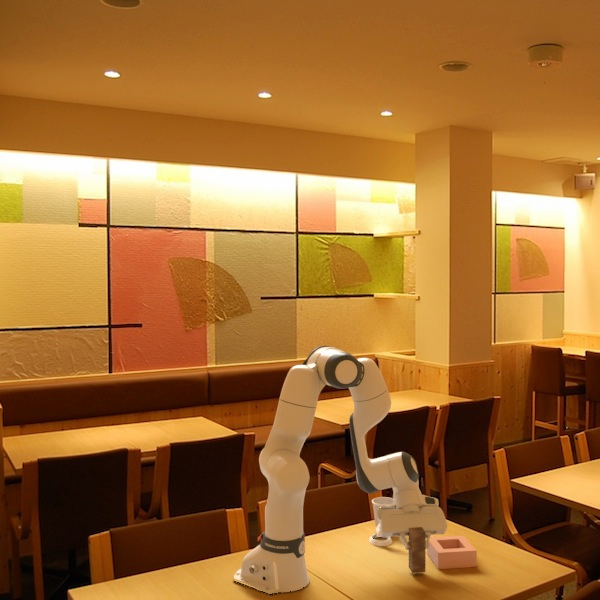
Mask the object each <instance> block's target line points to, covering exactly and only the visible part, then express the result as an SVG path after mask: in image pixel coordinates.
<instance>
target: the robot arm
mask: <svg viewBox="0 0 600 600" xmlns="http://www.w3.org/2000/svg"><path fill="white" fill-rule="evenodd" d="M326 385H327V386H329V387H333V388H336V389H348V390H349V392H350V395H351V399H352V401H353V406H354V407H353V412H352V413H351V414H350V416H349V422H348V426H349V433H350V439H351V447H352V451H353V457H354V463H355V469H356V470H355V475H356V476H355V478H356V482H357V485H358V487H359V489H360V490H362V491H363V492H365V493H367V494H370V495H372V494H375V493H378V492H380V491H382V490H387V489H391V488H392V491H393V495H392V499H394V504H395V505H392V506H381V507H380V508H378V510H377V516H378V518H379V519H380V533H381V535H382V536H383V537H390V538H391V537H399V540H400V541H401V542H402V543H403V545H404V548H405V550H406V551H407V550H408V551H409V550H411V542H409V540H407V538H406V537H409V528H414V527H422V528H423V529H424V531H425V532H426V550H427V549H429V542H428V541H429V539H430V537H431V535H432V536H433V535H444V534H445V533H446V532H447V529H448V524H447V523H448V522H447V519H446V515H445V513H444V511H443V510H442V508H441V507H440V506H439V504H440V503H439V499H438V498H436V497H433V496H432V497H431V496H429V495H428V496H427V495H425V494H422V492H421V490H420V487H419V485H420V484H419V483H420V482H419V477H420V473H419V470H418V464H417V462H416V460H415V458H414V457H413V456H412V455H410V454H409V453H407V452H405V451H397V452H394V453H389V454H386V455H384V456H380V457H377V458H376V457H375V458H369V456H368V451H367V444H366V438H365V436H366V434H367V433H368V432H369V431H370V430H371V429H372V428H373V427H375V426H376V425H377V424H379V423H381V422H382V421H383V420H384V418H386V416H387V415H388V414H389V412H390V410H391V408H392V407H391V405H392V399H391V395H390V391H389V388H388V385H387V383H386V381H385V377H384V376H383V374H382V372H381V370H380V368H379V367H378V365H377V363H376V362H375V361H374V360H373V359H371V358H369V357H358V358H356V357H355V356H354V355H353V354H351V353H349V352H347V351H344V350H342V349H341V348H338V347H333V346H330V345H320V346H317V347H315V348H314V349H312V350H311V351H310V353H309V354H308V355H307V358H305V360H304V361H303V363H302V364H296V365H294V366H292V367H290V369H289V371H288V372H287V375H286V377H285V379H284V382H283V385H282V388H281V391H280V396H279V398H278V399H279V400H278V402H277V403H278V404H277V408H276V412H275V416H274V421H273V424H272V428H271V430H270V433H269V435H268V438H267V440H266V442H265V445H264V447H263V448H262V450H261V451H260V453H259V457H258V462H259V469H260V472H261V473H262V475H263V476H264V477H265V478H266V480H267V483H268V496H267V500H266V504H265V507H264V524H265V525H264V526H265V527H264V528H265V529H264V531H263V532H262V533H261V534H260V535H259V536H257V537H256V538H257V542H259V541H260V543H259V544H258V545H256V547H254V548H253V549H252V550H251V551H249V552H248V553H247V554H246V555H245V556H244V557H243V559H242V562H241V567H240V568H239V569H238V570H237V571H236V572H235V573H234V574H233V579H236V580H238V581H240V582H243V583H246V584H248V585H250V586H253V587H255V588H257V589H259V590H262V591H264V592H266V593H270V594H272V593H277V594H279V593H278V592H281V593H291V592H296V591H298V590H301V589H304V588H306V587H307V586H308V585H309V583H310V577H309V573H308V570H307V564H306V559H305V558H306V556H305V552H306V533H305V532H304V503H305V496H306V490H307V487H308V485H309V483H310V479H311V478H310V471H309V468H308V466H307V464H306V462H305V460H303V459H302V458H301V457H300V454H301V452H302V448H303V446H304V443H305V442H306V440H307V438H308V437H309V436H310V434H311V432H312V428H313V424H314V419H315V414H316V410H317V406H318V401H319V396H320V393H321V392H322V390H323V389H324V388H325V386H326ZM237 574H239V575H237ZM303 587H304V588H303ZM290 591H291V592H290ZM266 593H265V594H266Z"/></svg>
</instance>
